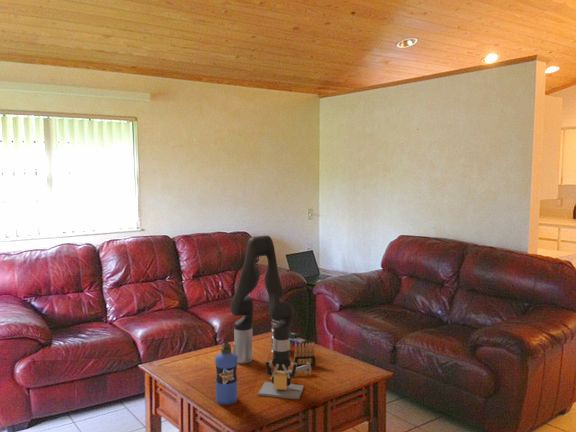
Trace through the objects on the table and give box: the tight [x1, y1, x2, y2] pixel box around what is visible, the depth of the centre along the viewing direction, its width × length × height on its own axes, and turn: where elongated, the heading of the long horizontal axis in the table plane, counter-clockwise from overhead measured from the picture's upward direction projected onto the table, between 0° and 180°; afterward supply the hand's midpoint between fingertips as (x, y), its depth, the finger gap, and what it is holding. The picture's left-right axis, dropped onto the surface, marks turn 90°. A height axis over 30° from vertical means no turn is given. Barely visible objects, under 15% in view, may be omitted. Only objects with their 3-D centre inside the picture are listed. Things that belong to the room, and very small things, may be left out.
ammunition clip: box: [293, 341, 316, 368], centre depth 249 cm, size 11×2×12 cm, turn 98°
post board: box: [257, 381, 305, 400], centre depth 220 cm, size 18×12×6 cm, turn 78°
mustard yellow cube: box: [274, 370, 288, 390], centre depth 220 cm, size 6×6×6 cm
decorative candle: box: [270, 317, 281, 353], centre depth 269 cm, size 9×9×25 cm
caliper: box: [270, 362, 312, 380], centre depth 236 cm, size 20×1×6 cm, turn 108°
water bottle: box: [214, 341, 238, 406], centre depth 211 cm, size 9×9×25 cm
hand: (281, 384), depth 220 cm, fingers closed on mustard yellow cube, 5 cm apart
